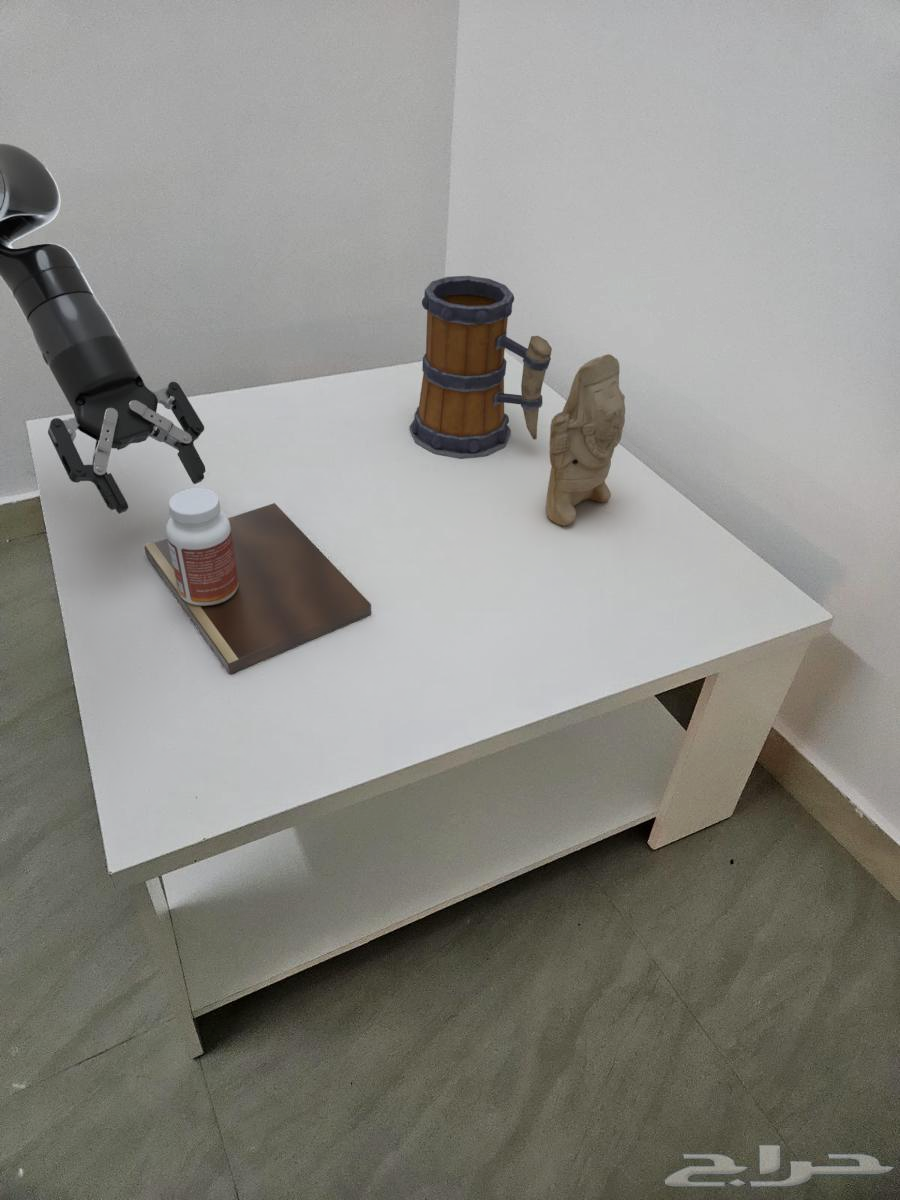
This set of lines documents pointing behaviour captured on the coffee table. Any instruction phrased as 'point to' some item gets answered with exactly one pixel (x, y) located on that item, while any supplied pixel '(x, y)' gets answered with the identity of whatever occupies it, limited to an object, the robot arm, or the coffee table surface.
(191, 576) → the pill bottle
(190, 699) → the coffee table surface
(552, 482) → the figurine
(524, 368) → the mug
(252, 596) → the board
